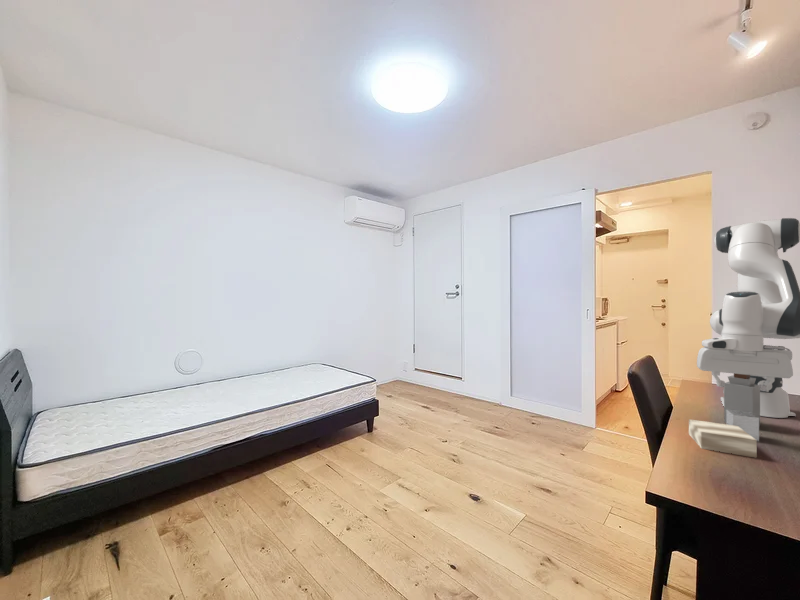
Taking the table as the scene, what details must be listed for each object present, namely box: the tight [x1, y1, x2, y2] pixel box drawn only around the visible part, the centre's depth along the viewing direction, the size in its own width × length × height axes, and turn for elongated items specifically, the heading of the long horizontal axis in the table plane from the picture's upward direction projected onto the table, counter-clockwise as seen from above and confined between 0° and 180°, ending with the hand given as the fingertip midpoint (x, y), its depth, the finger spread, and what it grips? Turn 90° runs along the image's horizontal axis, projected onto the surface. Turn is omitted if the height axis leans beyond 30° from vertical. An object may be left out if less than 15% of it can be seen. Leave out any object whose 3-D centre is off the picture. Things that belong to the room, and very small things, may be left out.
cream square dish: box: [688, 419, 758, 458], centre depth 91 cm, size 11×11×5 cm
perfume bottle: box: [723, 373, 761, 427], centre depth 107 cm, size 7×7×18 cm
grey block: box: [725, 409, 760, 443], centre depth 97 cm, size 6×6×7 cm
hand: (741, 388), depth 97 cm, fingers open, 8 cm apart
